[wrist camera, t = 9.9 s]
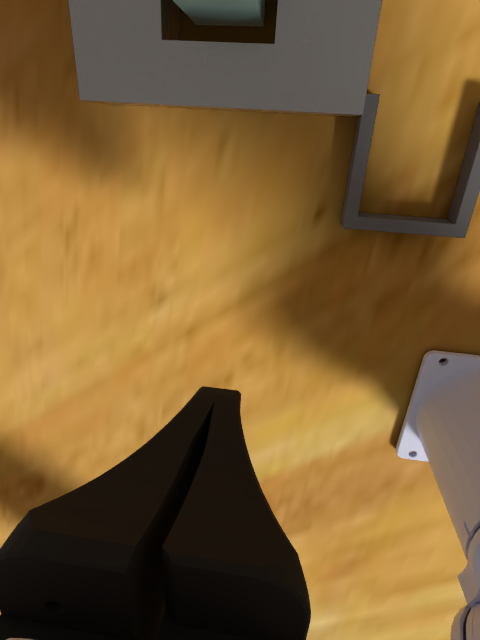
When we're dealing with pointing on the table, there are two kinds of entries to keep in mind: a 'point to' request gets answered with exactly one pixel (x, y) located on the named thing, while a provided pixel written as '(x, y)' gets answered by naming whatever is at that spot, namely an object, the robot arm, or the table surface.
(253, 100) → the port panel
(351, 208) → the holster
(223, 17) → the plug
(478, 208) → the table surface
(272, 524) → the robot arm
